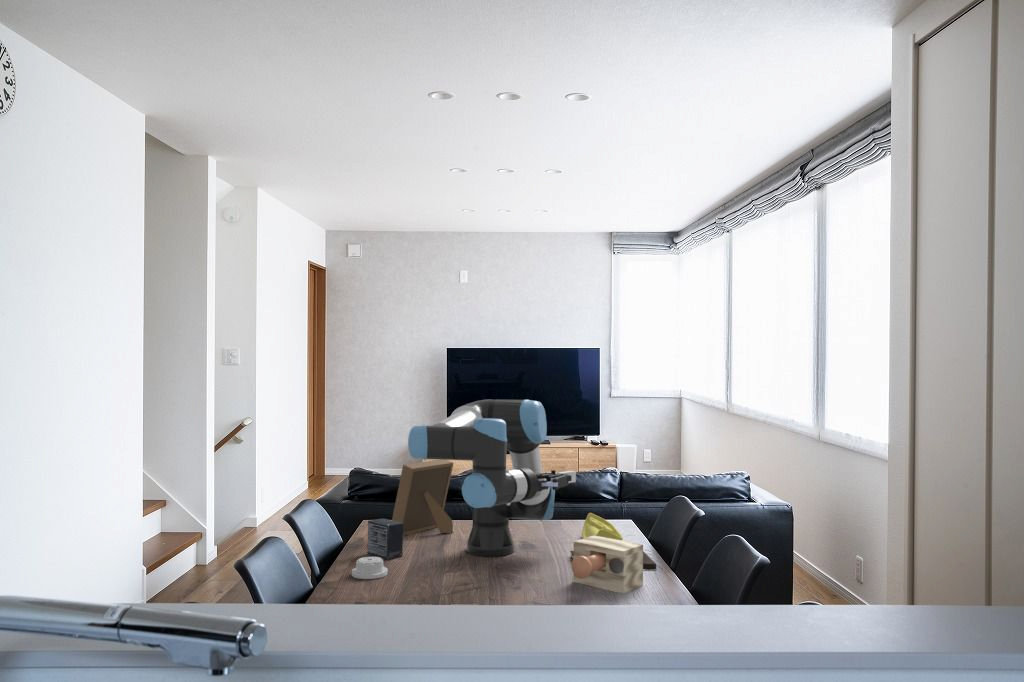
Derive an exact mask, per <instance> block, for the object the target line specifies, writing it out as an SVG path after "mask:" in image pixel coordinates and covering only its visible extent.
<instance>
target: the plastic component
mask: <svg viewBox="0 0 1024 682" xmlns="http://www.w3.org/2000/svg"><path fill="white" fill-rule="evenodd" d="M585 518H586V519H585V520H584V523H583V526H582V532H581V534H582V535H581V536H582V539H584V538H587V537H590V536H593V535H594V536H600V537H605V538H611V539H616V540H621V541H623V540H624V536H622V534H621V533H620V532H619V530H618V529H617V528H616V527H615V526H614V525H613V524H612V523H611V522H609V521H608V520H606V519H605V518H604V517H603V518H602V517H600V516H599V515H596V514H594V513H592V512H588V514H587V516H586V517H585Z"/></svg>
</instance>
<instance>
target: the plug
mask: <svg viewBox="0 0 1024 682" xmlns="http://www.w3.org/2000/svg"><path fill="white" fill-rule="evenodd" d="M570 565H571V567H570V569H571V571H572V574H574V575H575V576H576V577H577V578H580V579H583V578H586V577H588V576H590V574H591V573H592V572H593V571H596V570H598V569H601V568H604V567H606V553H601V552H600V553H597V554H594V555H591V556H588V557H586V556H578V557H575V558H574V559H572V560H571V564H570Z"/></svg>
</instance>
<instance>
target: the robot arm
mask: <svg viewBox="0 0 1024 682" xmlns="http://www.w3.org/2000/svg"><path fill="white" fill-rule="evenodd" d="M547 425H548V423H547V414H546V409H545V408H544V405H543V404H542V402H541V401H537V400H532V399H531V400H530V399H492V398H490V399H482V400H476V401H473V402H470V403H466V404H464V405H461V406H459V407H457V408H456V409H454V411H452V412H451V415H450V416H448V417H446V418H445V419H442V420H440V421H438V422H437V423H434V424H432V425H426V424H423V425H415V426H413V427H411V429H409V430H410V431H409V434H408V439H407V447H408V448H407V449H408V452H409V455H410V457H411V458H414V459H420V460H424V461H425V460H426V461H427V460H440V459H444V460H449V461H472V473H471V474H469V475H467V477H465V478H464V481H463V484H462V485H461V495H462V497H463V500H464V501H465V503H466V504H467V505H468V506H469V507H471V508H472V527H471V529H470V533H469V537H468V539H467V542H466V551H467V553H469V554H472V555H474V556H481V557H500V556H499V555H502V556H506V555H510V554H513V553H514V552H513V551H515V543H514V539H513V537H512V532H511V529H510V525H509V524H510V519H511V520H530V521H531V520H533V521H535V520H536V521H540V522H542V521H550V520H551V519H553V516H554V506H555V505H554V504H555V495H556V491H557V490H558V491H559V489H561V488H565V487H567V486H569V484H570V483H576V482H577V471H576V470H575V471H574V470H567V471H561V472H557V471H556V470H554V469H551V472H550V473H549V472H543V467H542V466H543V465H542V460H541V454H540V445H541V443H543V442H545V440H546V437H547V432H548V430H547V429H548V427H547ZM507 451H508V452H509V454H510V455H509V456H510V460H511V464H512V468H510V469H507V453H508V452H507Z"/></svg>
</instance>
